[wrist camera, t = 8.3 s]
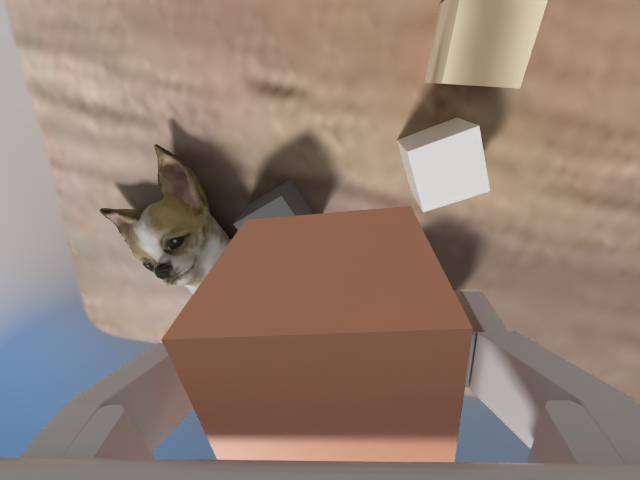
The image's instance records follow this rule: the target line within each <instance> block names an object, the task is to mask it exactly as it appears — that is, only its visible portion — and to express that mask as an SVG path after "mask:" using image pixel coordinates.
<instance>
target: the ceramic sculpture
mask: <svg viewBox="0 0 640 480" xmlns="http://www.w3.org/2000/svg"><path fill="white" fill-rule="evenodd" d="M154 147H155V150H156V154H157V157H158V182H159V186H160V189H161V192H162V193H163V195H164V198H163V199H162V200H160V201H158V202H155V203H153V204H151V205H149V206H148V207H146V208H145V209H144V210H142V211H141V212H140V211H137V210H132V209H108V208H101V209H100V210H99V211H100V212H101V213H102V214H103V215H104V216H105V217H106V218H108V219H110V220H111V221H112V222H113V223H114V224H115V225H116V226H117V228H118V230H119V232H120V233H121V235H122V236H123V237H124V238H125V242H126V243H127V245H128V247H129V248H131V250H132V252H133V254H134V256H135V257H136V258H137V259H139V260H141V261H142V264H143V265H144V266H145V267H146V268H147V269H149V270H150V271H152V272H154V273H155V274H156V276H157V277H158V278H159V280H160V281H161V282H163V283H164V284H166V285H174V286H177V287H180V286H186V287H187V288H188V289H189V290H190V291H191V293H192V294H194V293H195V291H196V290H197V288H198V287H199V285H200V284H201V283H202V281H203V280H204V278H205V277H206V275H207V274H208V273H209V271H210V270H211V268H212V267H213V265H214V264H215V263H216V261H217V260H218V258H219V257H220V255H221V254H222V253H223V251H224V250H225V248H226V247H227V246H228V244H229V243H230V241H231V239H230V238H229V237H228V235H227V234H226V233H225V232H224V230H223V229H222V228H221V227H220V226H219V224H218V223H217V221H216V220H215V219H214V217H213V216H212V215H211V214H210V213H209V204H208V200H207V197H206V194H205V192H204V190H203V187H202V183H201V182H200V181H199V179H198V178H197V176H196V174H195V173H194V171H193V170H192V169H191V168H190V167H188V166H187V165H186V164H185V163H184V161H182V160H181V159H180V158H178V157H177V156H176V155H174V154H172V153H170V152H169V151H167V150H165V149H164V148H162V147H160V146H159V145H157V144H156V145H155V146H154Z"/></svg>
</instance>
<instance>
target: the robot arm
mask: <svg viewBox="0 0 640 480" xmlns="http://www.w3.org/2000/svg"><path fill="white" fill-rule="evenodd" d="M454 292H455V294H456V296H457V298H458V300H459V302H460V304H461V306H462V308H463V310H464V312H465V314H466V316H467V318H468V320H469V321H470V323H471V325H472V327H473V333H472V340H471V347H470V354H469V361H468V368H467V376H466V383H465V387H470V388H469V389H470V390H471V391H472V392H473V393H474V394H475V395H476V396H477V397H478V398H479V399H480V400H481V401H482V402H483V403H484V404H486V406H488V408H490V409H491V410H492V411H493V412H494V413H495V414H496V415H497V416H498V417H499V418H500V419H501V420H502V421H503V422H504V423H505V424H506V425H507V426H508V427H509V428H510V429H511V430H512V431H513V432H514V433H515V434H516V435H517V436H518V437H519V438H520V439H521V440H522V441H523V442H524V443H525V444H526V445H527V446H528V447H529V448H530V449H531V450H530V453H529V457H528V459H527V462H526V463H467V462H464V463H463V462H371V461H284V460H202V459H199V460H198V459H156V457H155V456H154V454H153V453H152V451H153V450H154V449H155V448H156V447H157V446H158V445H159V444H160V443H161V442H162V441H163V440H164V439H165V438H166V437H167V436H168V435H169V434H170V433H171V432H172V431H173V430H174V428H175V427H176V426H177V425H178V424H179V423H180V422H181V421H182V420H183V419H184V418H185V417H186V416H187V415H188V414H189V413H190V411H192V410H193V409H194V408H193V406H192V404H191V402H190V400H189V398H188V395H187V393H186V391H185V389H184V387H183V385H182V383H181V380H180V378H179V376H178V374H177V372H176V370H175V368H174V365H173V363H172V361H171V359H170V357H169V355H168V353H167V351H166V348H165V346H164V344H163V343H158V344H157V345H156V346H154V347H152V348H151V349H149V350H148V351H146V352H145V353H143V354H141V355H140V356H138V357H137V358H135V359H134V360H132V361H131V362H129V363H128V364H126V365H124V366H123V367H121V368H120V369H118V370H117V371H115V372H114V373H112V374H110V375H109V376H108V377H106V378H105V379H103V380H101V381H100V382H98V383H97V384H95V385H93V386H92V387H90V388H89V389H87V390H86V391H84V392H83V393H81V394H80V395H78V396H76V397H75V398H73V399H72V400H70V401H69V402H67V403H66V404H65V405H64V406H63V407H62V408H61V409H60V411H59V412H58V413H57V414H56V415H55V416H54V417H53V418H52V420H51V421H50V422H49V423H48V424H47V425H46V427H45V428H44V429H43V430H42V431H41V433H40V434H39V435H38V436H37V437H36V438H35V439H34V441H33V442H32V443H31V444H30V445H29V447H28V448H27V449H26V450H25V451H24V452H23V453H22V454H21V456H20V457H0V480H640V405H639V404H638V403H637V402H636V401H635V400H634V399H633V398H632V397H630V396H628V395H626V394H625V393H623V392H621V391H619V390H618V389H616V388H614V387H612V386H611V385H609V384H607V383H605V382H604V381H602V380H600V379H598V378H596V377H595V376H593V375H591V374H589V373H588V372H586V371H584V370H582V369H581V368H579V367H577V366H575V365H574V364H572V363H570V362H568V361H567V360H565V359H563V358H561V357H560V356H558V355H556V354H554V353H553V352H551V351H549V350H547V349H546V348H544V347H542V346H540V345H539V344H537V343H535V342H533V341H531V340H530V339H528V338H526V337H524V336H523V335H521V334H519V333H517V332H516V331H508V330H507V328H506V327H505V325H504V324H503V322H502V321H501V319H500V317H499V316H498V314H497V313H496V311H495V310H494V308H493V307H492V305H491V304H490V302H489V301H488V299H487V298H486V296H485V295H484V293H483V292H482V290H480V289H469V290H459V291H454Z"/></svg>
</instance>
